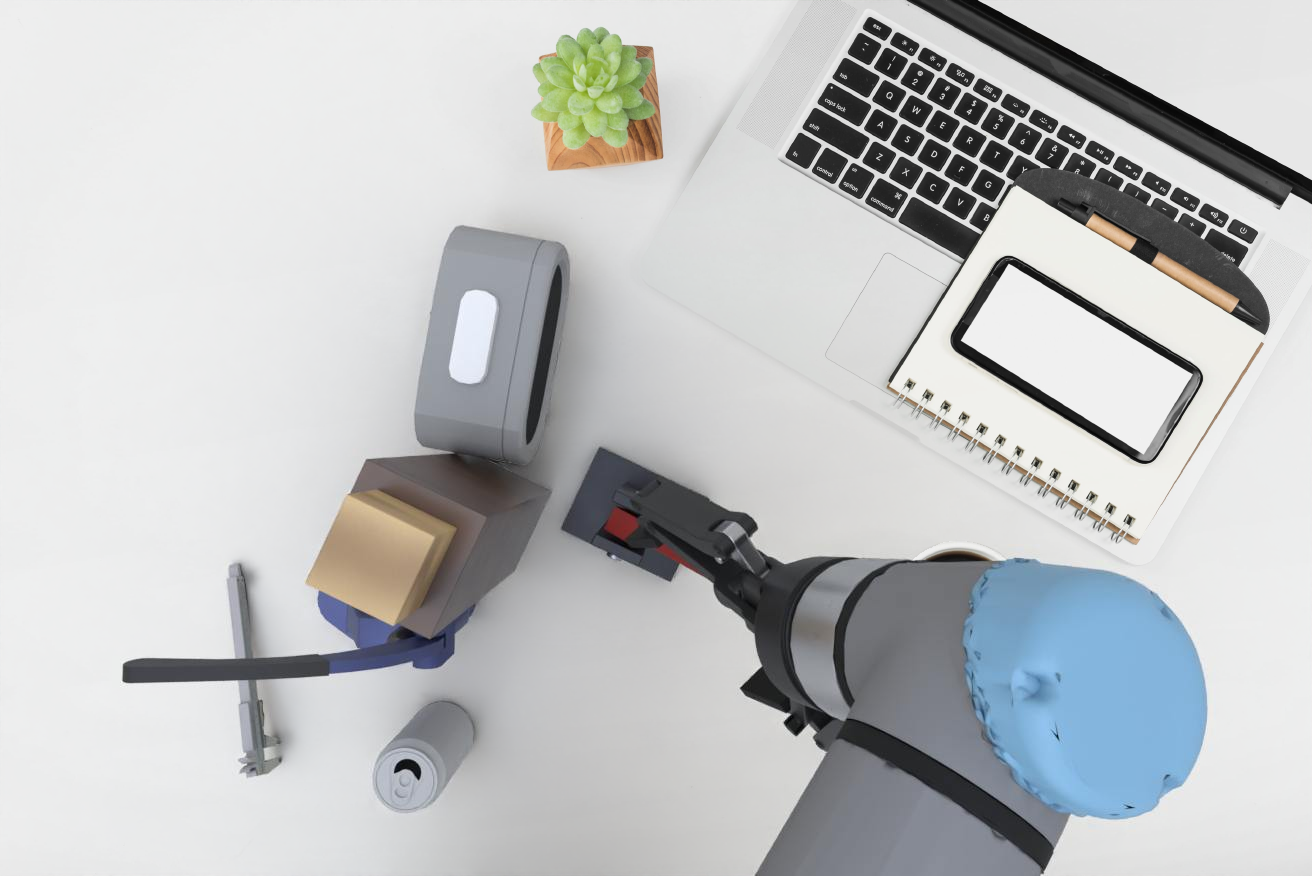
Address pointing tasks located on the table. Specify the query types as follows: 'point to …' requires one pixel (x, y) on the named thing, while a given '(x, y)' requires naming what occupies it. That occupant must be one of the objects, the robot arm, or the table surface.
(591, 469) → the toggle clamp
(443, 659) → the clamp
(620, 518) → the clamp lever
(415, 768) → the beverage can
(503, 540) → the dark brown block
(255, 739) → the caliper
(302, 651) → the table surface
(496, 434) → the alarm clock
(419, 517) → the jaw block
